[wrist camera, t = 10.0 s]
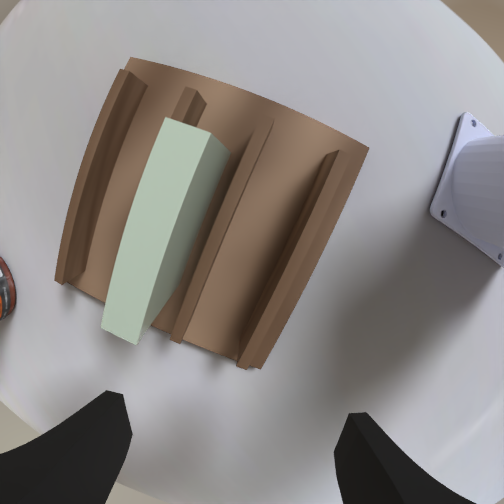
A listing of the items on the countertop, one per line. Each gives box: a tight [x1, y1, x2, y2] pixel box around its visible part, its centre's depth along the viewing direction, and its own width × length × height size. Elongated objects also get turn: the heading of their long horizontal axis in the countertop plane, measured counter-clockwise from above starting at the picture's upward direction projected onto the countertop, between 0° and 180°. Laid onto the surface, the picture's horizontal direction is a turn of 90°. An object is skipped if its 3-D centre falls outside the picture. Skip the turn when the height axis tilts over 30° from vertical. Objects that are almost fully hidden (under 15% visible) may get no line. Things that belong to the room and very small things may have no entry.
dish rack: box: [54, 57, 369, 370], centre depth 15 cm, size 15×15×4 cm
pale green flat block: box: [101, 117, 231, 345], centre depth 13 cm, size 2×8×7 cm, turn 157°
